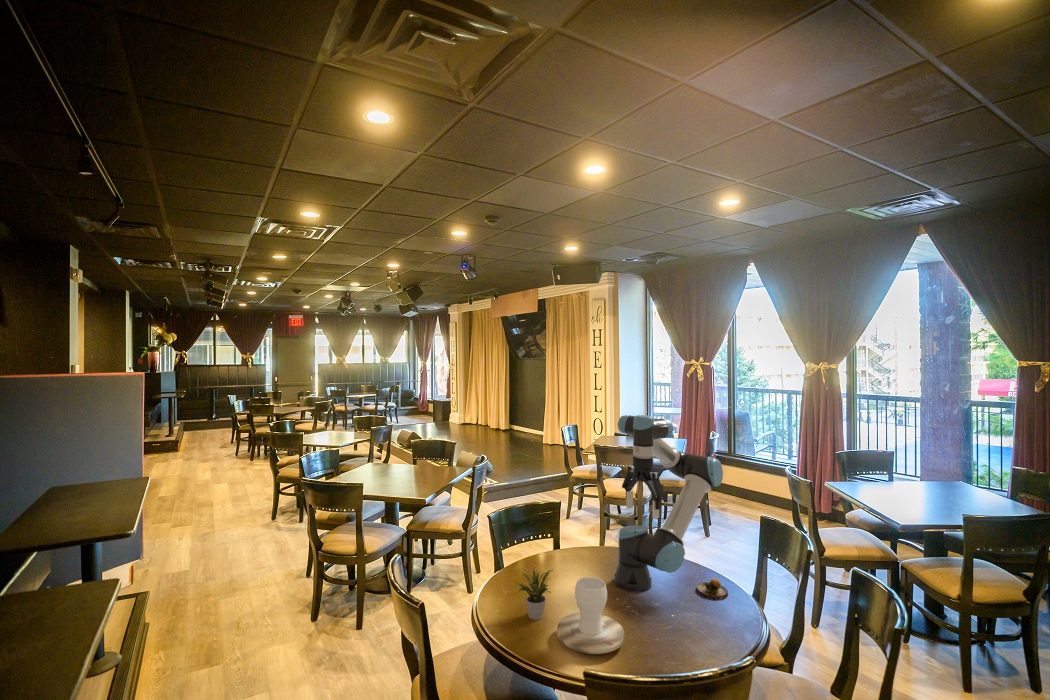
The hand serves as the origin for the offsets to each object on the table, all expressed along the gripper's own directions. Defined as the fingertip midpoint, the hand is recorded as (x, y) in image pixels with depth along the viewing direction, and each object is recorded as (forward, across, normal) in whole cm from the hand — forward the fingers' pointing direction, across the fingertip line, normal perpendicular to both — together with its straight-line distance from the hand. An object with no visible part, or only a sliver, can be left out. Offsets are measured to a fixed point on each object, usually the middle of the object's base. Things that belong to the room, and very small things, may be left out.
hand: (642, 512), depth 191 cm
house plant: (+35, -14, -38) cm, 53 cm away
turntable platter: (+33, +9, -32) cm, 47 cm away
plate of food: (+35, +7, +32) cm, 48 cm away
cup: (+31, +9, -32) cm, 45 cm away
